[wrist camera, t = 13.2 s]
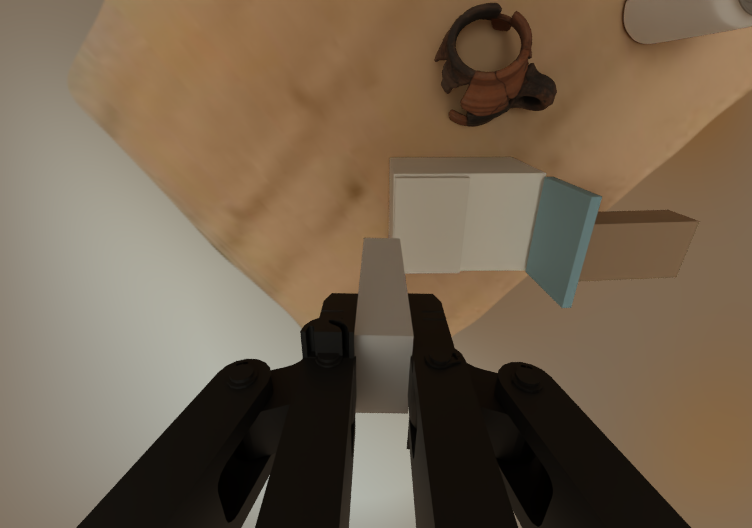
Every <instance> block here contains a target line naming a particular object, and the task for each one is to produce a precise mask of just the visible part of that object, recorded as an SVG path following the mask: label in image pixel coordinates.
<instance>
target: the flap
mask: <svg viewBox="0 0 752 528" xmlns="http://www.w3.org/2000/svg"><path fill="white" fill-rule="evenodd" d="M601 199H602V196H599V195H597V194H594V193H592V192H589V191H587V190H584V189H582V188H580V187H577V186H575V185H572V184H570V183H567V182H565V181H562V180H560V179H558V178H555V177H545V178H544V183H543V188H542V193H541V198H540V203H539V208H538V212H537V217H536V222H535V227H534V232H533V237H532V242H531V247H530V252H529V257H528V262H527V266H526V271H525V272H526V273H527V274H528V275H529V276H530V277H531V278H532V279H534V280H535V281H536V283H537V284H539V286H541V288H542V289H544V291H546V293H547V294H548V295H550V297H552V299H554V300H555V301H556V302H557V303H558V304H559V305H560V306H561V307H562V308H569V307H570V308H571V306H572V302H573V298H574V295H575V291H576V288H577V284H578V281H599V280H621V279H647V278H670V277H677V274H678V272H679V270H680V267H681V265H682V262H683V260H684V257H685V255H686V253H687V250H688V248H689V245H690V243H691V240H692V238H693V236H694V233H695V231H696V229H697V226H698V224H699V221H697V220H695V219H692V218H689V217H686V216H684V215H681V214H678V213H675V212H673V211H670V210H651V211H649V210H648V211H617V212H616V211H615V212H614V211H613V212H598V209H599V206H600V202H601Z"/></svg>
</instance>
